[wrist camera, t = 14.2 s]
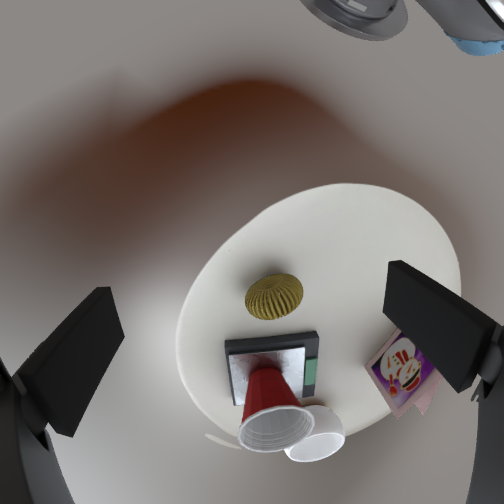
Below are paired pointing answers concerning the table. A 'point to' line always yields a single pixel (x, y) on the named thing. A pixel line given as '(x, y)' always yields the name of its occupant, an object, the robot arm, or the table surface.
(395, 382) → the greeting card
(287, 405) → the plastic cup
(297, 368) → the scale
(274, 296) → the sculpture
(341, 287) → the table surface
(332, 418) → the cup
